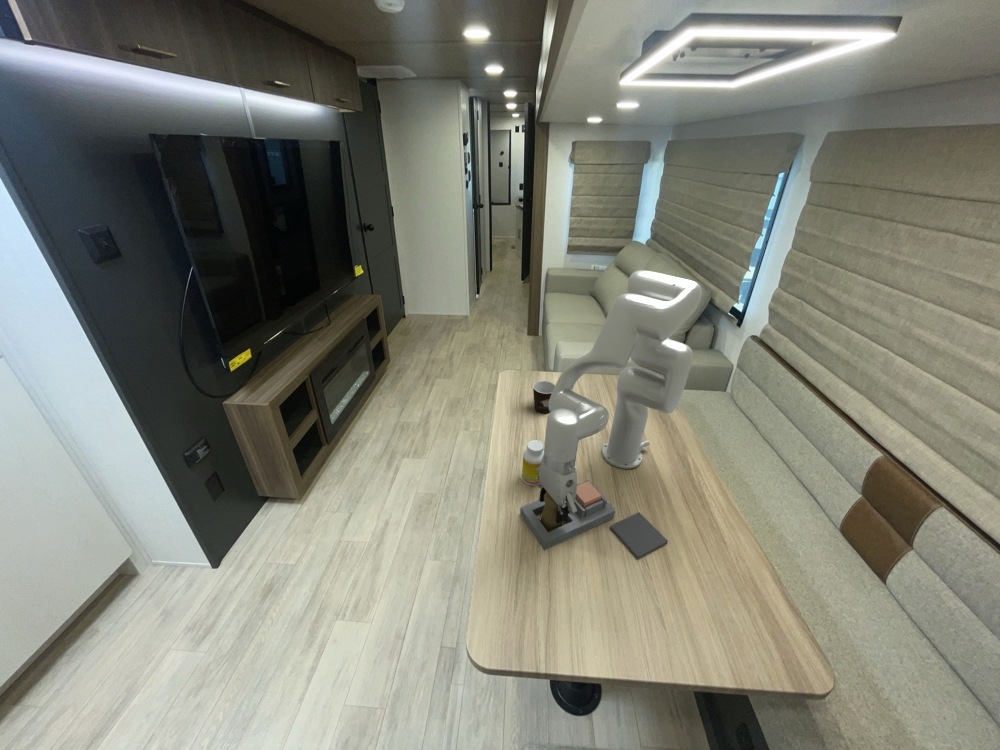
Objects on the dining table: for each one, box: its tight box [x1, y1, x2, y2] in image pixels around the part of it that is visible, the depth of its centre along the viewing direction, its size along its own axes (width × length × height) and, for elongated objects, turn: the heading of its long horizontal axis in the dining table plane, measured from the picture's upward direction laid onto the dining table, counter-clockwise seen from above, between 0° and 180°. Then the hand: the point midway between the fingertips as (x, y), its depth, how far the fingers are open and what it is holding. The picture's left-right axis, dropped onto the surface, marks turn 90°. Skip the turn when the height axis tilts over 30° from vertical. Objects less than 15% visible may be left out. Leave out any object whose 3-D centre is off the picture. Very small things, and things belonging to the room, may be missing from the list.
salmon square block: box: [576, 480, 603, 509], centre depth 105 cm, size 6×6×3 cm
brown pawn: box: [539, 492, 564, 532], centre depth 101 cm, size 6×6×11 cm
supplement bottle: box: [521, 439, 545, 487], centre depth 114 cm, size 7×7×13 cm
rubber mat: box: [609, 512, 669, 560], centre depth 101 cm, size 10×10×1 cm
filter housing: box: [519, 480, 616, 551], centre depth 104 cm, size 22×12×6 cm, turn 117°
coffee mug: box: [532, 380, 556, 415], centre depth 145 cm, size 12×9×10 cm
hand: (552, 509), depth 101 cm, fingers open, 6 cm apart
